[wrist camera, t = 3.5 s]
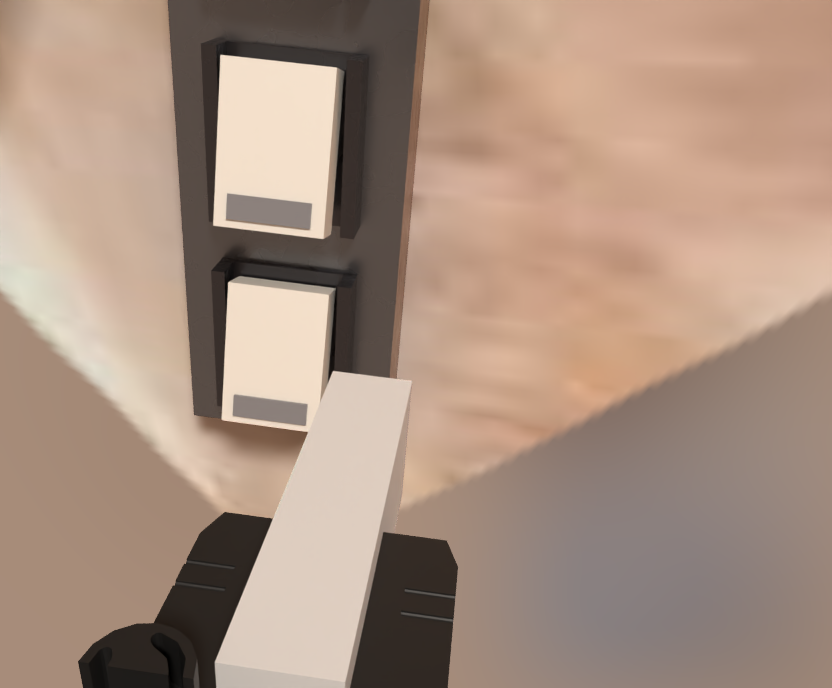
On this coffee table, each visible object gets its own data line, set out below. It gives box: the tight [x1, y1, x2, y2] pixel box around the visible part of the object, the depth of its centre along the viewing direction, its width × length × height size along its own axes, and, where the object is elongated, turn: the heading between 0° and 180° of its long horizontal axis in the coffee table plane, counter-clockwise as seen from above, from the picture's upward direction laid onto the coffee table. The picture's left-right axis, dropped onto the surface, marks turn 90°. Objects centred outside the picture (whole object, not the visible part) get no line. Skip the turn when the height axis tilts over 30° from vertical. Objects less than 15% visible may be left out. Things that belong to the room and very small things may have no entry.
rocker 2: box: [222, 276, 336, 432], centre depth 35 cm, size 6×4×2 cm
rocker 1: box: [213, 55, 344, 239], centre depth 31 cm, size 6×4×2 cm
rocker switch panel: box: [168, 0, 430, 419], centre depth 34 cm, size 30×10×6 cm, turn 175°
